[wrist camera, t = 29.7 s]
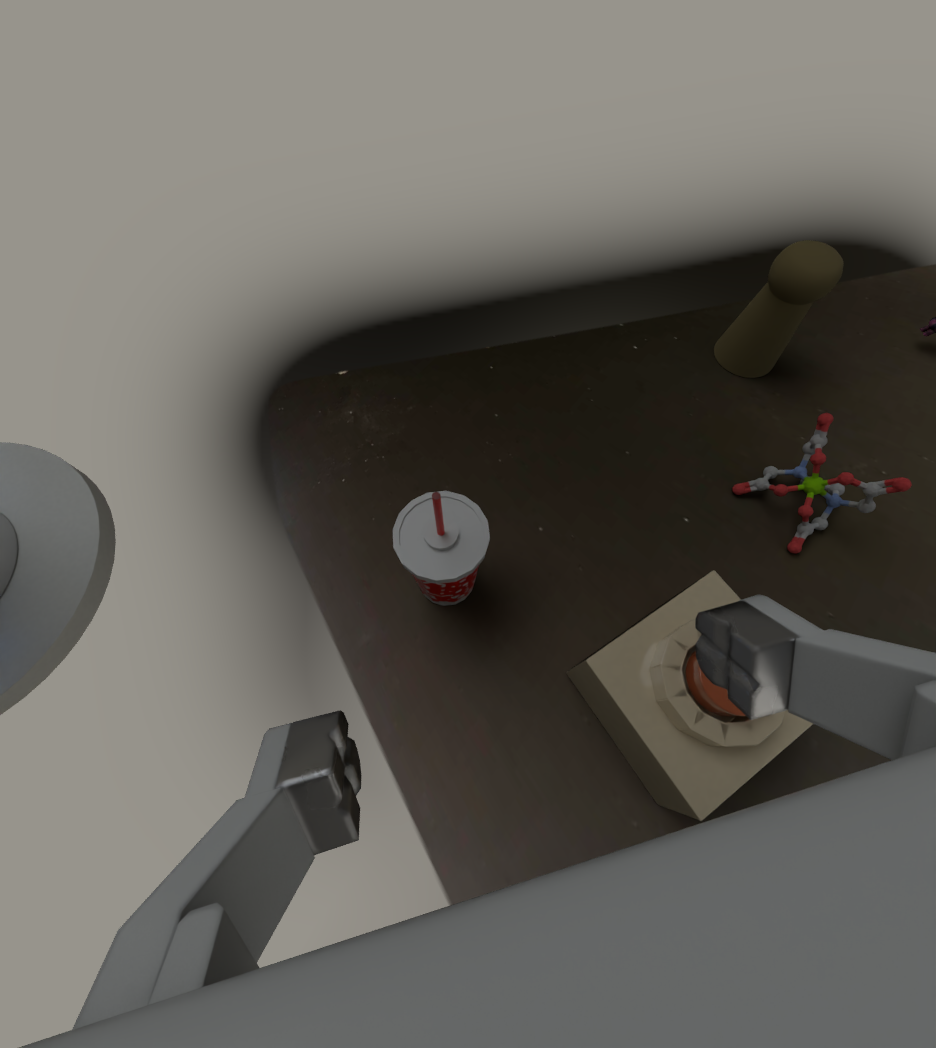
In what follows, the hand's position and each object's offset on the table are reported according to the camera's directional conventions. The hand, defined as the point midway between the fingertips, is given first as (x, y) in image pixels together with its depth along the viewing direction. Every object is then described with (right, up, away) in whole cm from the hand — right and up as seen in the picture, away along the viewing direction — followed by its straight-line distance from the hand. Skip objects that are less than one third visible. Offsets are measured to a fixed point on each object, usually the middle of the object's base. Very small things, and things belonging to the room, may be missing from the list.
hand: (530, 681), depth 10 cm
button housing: (+13, -9, +23) cm, 28 cm away
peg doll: (+27, +21, +37) cm, 50 cm away
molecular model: (+26, +5, +30) cm, 40 cm away
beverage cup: (-3, -1, +27) cm, 27 cm away
